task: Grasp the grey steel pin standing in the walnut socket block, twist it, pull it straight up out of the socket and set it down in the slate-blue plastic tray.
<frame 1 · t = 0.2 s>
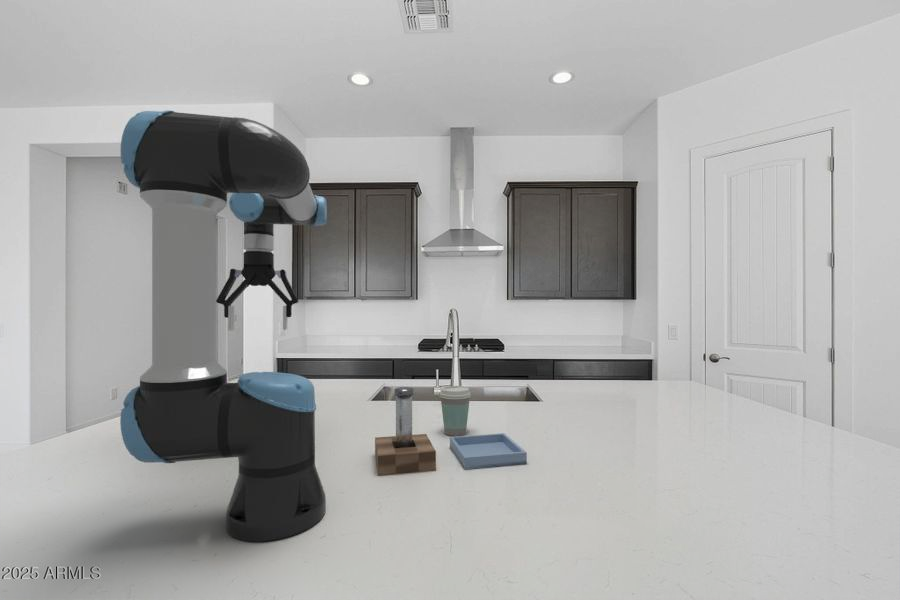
hand: (258, 329, 114), 28 cm above the countertop, fingers open, 13 cm apart
socket block: (403, 462, 93), on the countertop
coffee cup: (455, 433, 114), on the countertop
pin: (403, 425, 93), in the socket block
tray: (486, 455, 97), on the countertop
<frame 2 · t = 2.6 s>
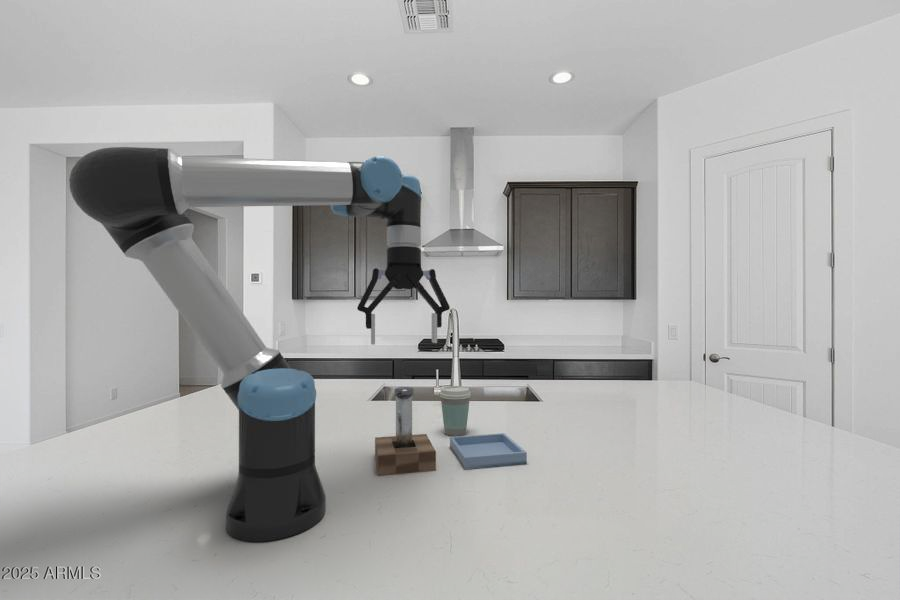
hand: (404, 343, 93), 26 cm above the countertop, fingers open, 13 cm apart
nothing on the countertop moved.
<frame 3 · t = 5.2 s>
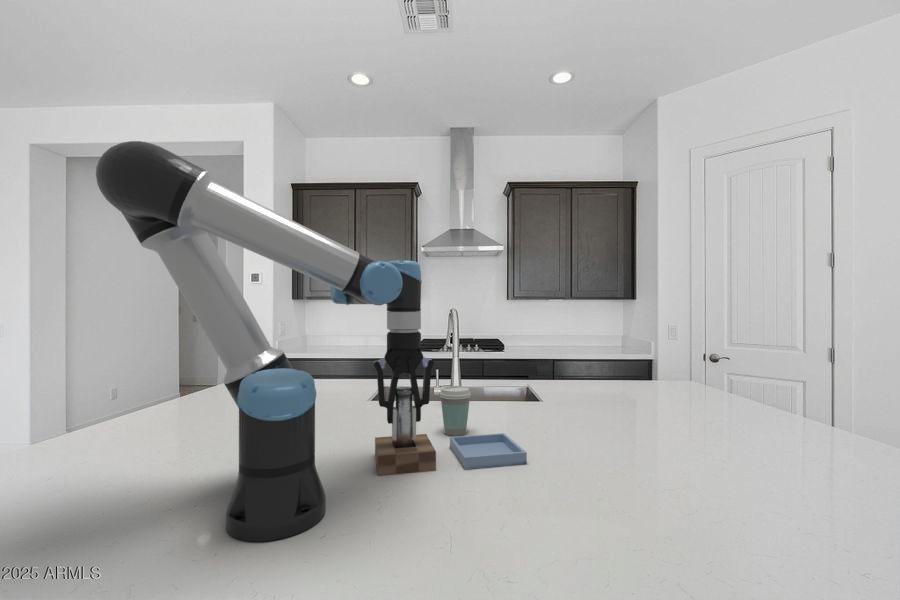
hand: (403, 436, 93), 6 cm above the countertop, fingers closed on pin, 3 cm apart
pin: (403, 425, 93), in the socket block, touching gripper
everything else where it was.
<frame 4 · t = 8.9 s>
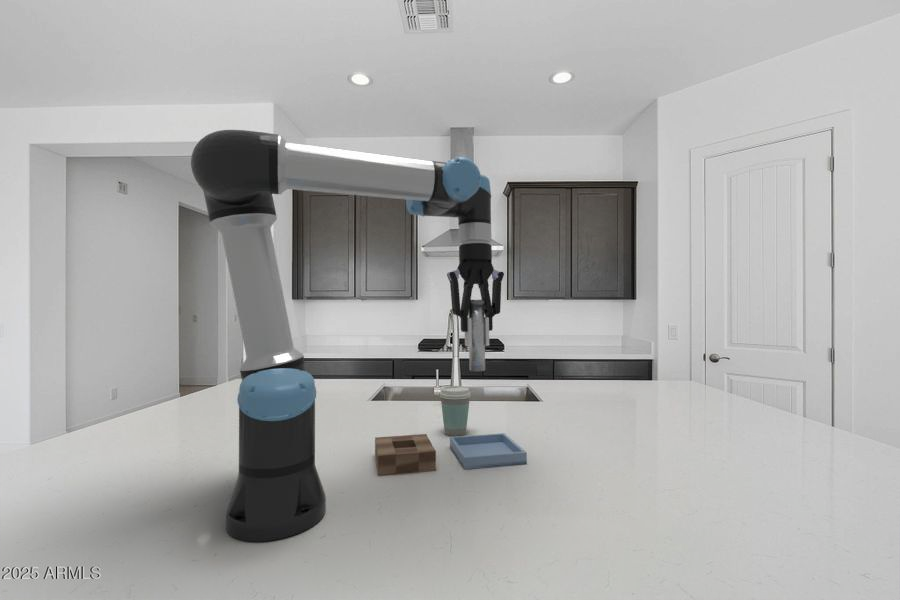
hand: (477, 345, 97), 25 cm above the countertop, fingers closed on pin, 3 cm apart
pin: (476, 334, 97), point 28 cm above the countertop, touching gripper
everything else where it was.
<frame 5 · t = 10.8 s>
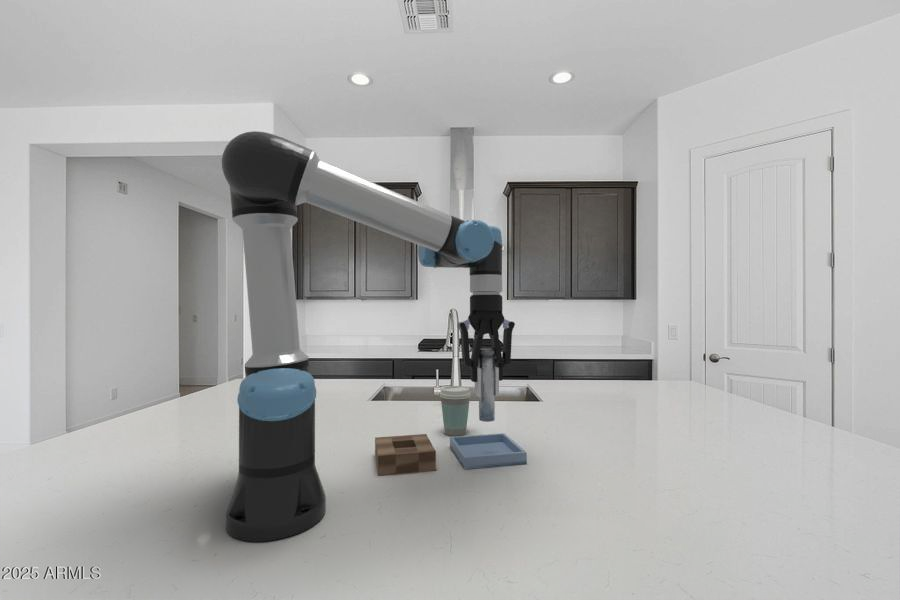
hand: (486, 395, 97), 14 cm above the countertop, fingers closed on pin, 3 cm apart
pin: (486, 384, 97), point 16 cm above the countertop, touching gripper
everything else where it was.
when the fingers open (7 cm above the countertop, at t = 12.5 s): pin stays where it is, resting on tray.
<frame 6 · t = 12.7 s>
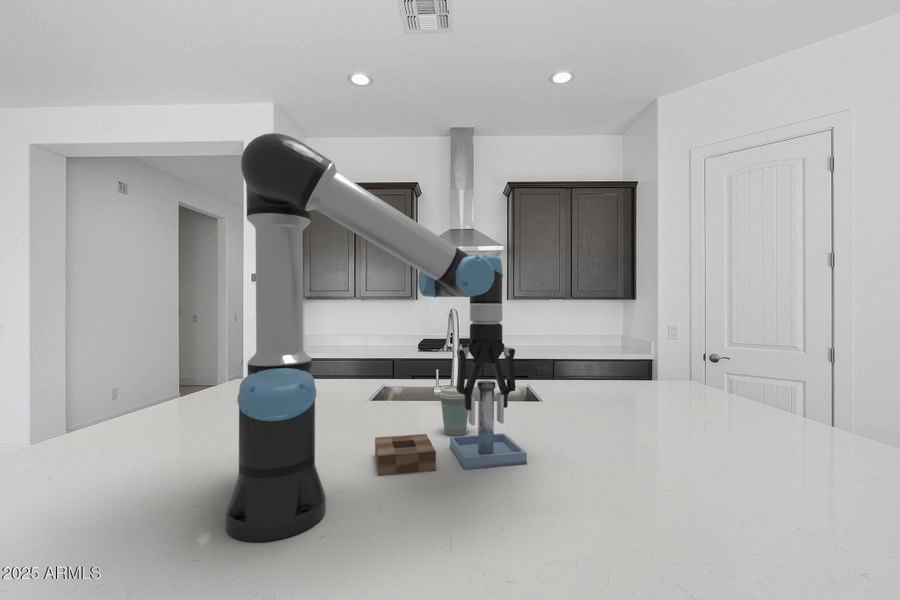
hand: (486, 422, 97), 8 cm above the countertop, fingers open, 6 cm apart
pin: (486, 417, 97), in the tray, point 9 cm above the countertop
everything else where it was.
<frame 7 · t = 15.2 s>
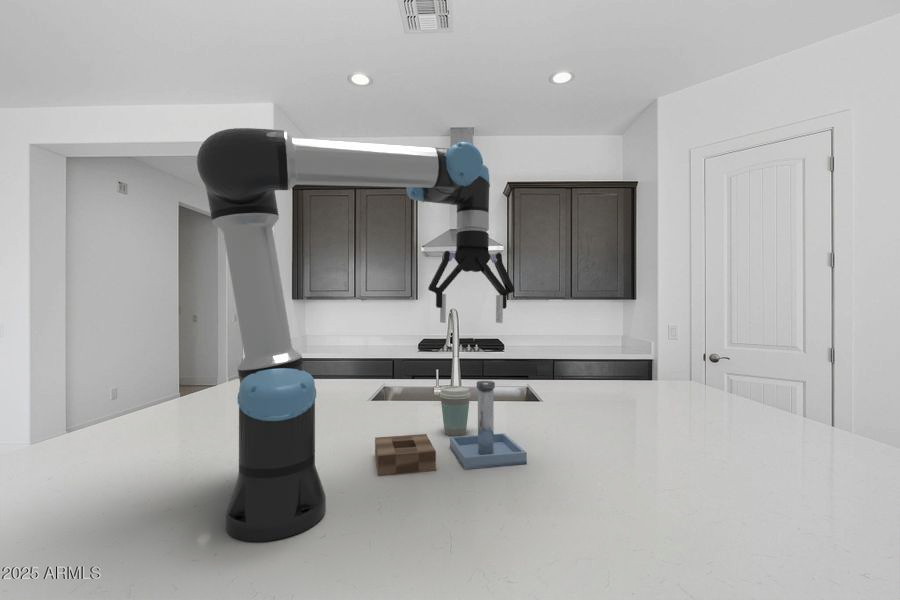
hand: (471, 322, 98), 31 cm above the countertop, fingers open, 13 cm apart
nothing on the countertop moved.
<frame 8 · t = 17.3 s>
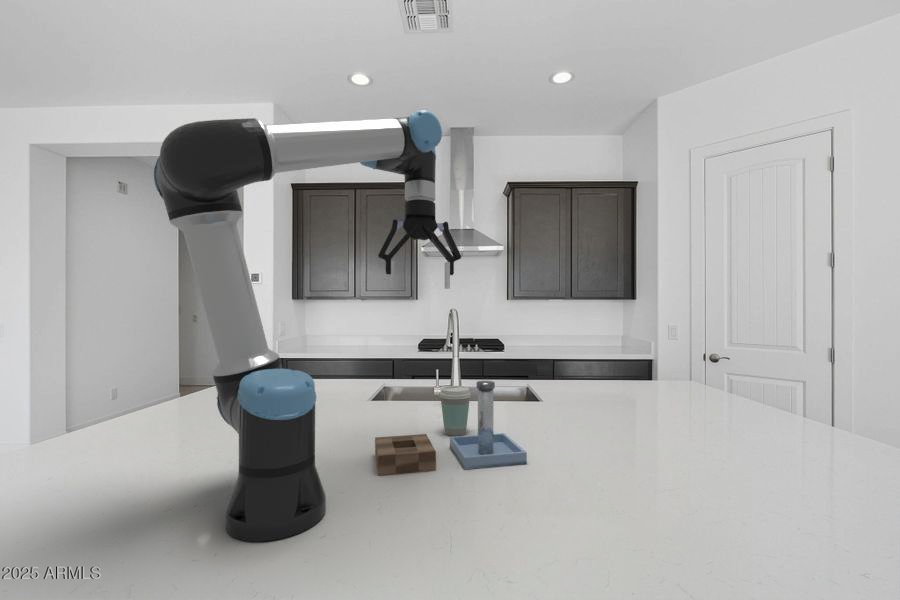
hand: (420, 288, 103), 39 cm above the countertop, fingers open, 13 cm apart
nothing on the countertop moved.
at the end: pin inside the target area on the tray (0.1 cm from its centre), point 8.7 cm above the tray's base; pin touching tray; the gripper is holding nothing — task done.
